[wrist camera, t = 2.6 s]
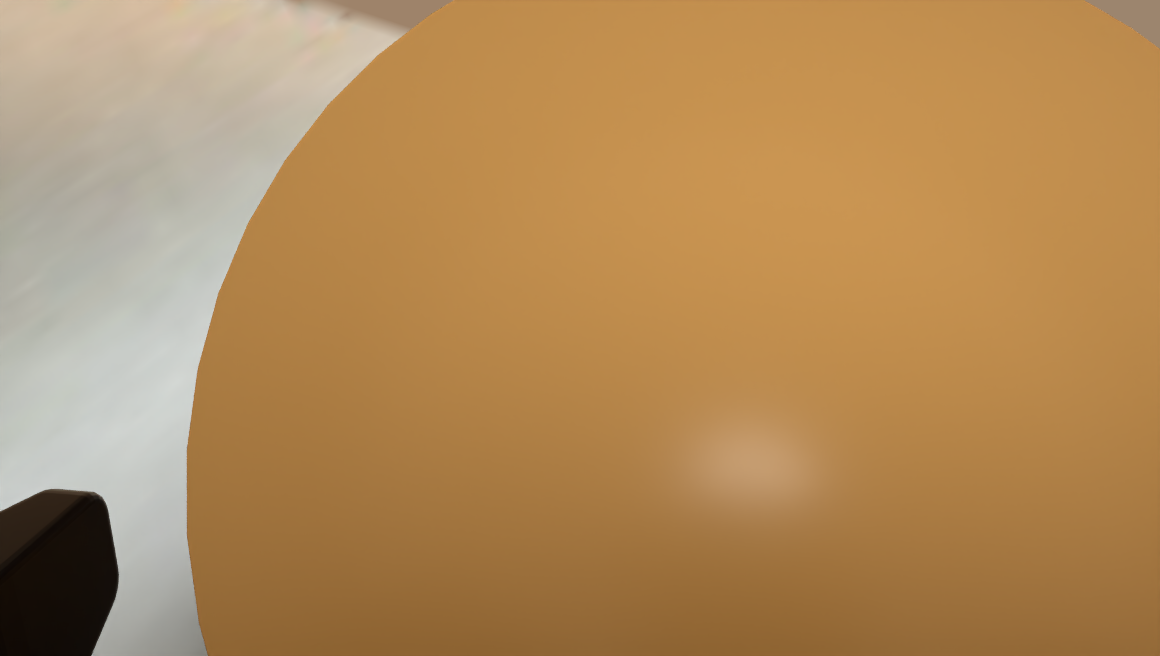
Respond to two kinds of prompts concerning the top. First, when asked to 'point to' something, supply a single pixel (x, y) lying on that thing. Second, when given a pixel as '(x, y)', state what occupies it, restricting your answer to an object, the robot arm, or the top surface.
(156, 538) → the top surface
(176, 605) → the top surface
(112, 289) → the top surface
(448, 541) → the fuse cartridge
